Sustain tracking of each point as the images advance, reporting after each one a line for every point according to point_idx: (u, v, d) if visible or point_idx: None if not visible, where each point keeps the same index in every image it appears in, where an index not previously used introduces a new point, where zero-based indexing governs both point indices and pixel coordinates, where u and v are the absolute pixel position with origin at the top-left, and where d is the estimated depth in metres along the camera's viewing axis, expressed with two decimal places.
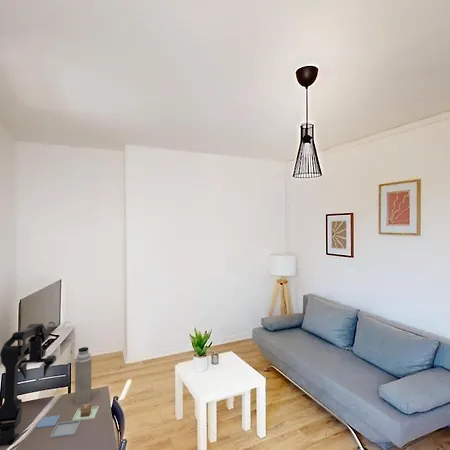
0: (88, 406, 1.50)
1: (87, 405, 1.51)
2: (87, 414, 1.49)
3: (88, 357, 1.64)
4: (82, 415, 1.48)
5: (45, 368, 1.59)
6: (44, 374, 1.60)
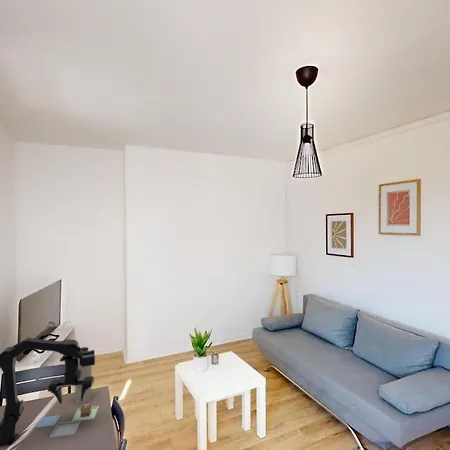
0: (88, 406, 1.50)
1: (87, 405, 1.51)
2: (87, 414, 1.49)
3: None
4: (82, 415, 1.48)
5: (83, 392, 1.41)
6: (81, 398, 1.41)
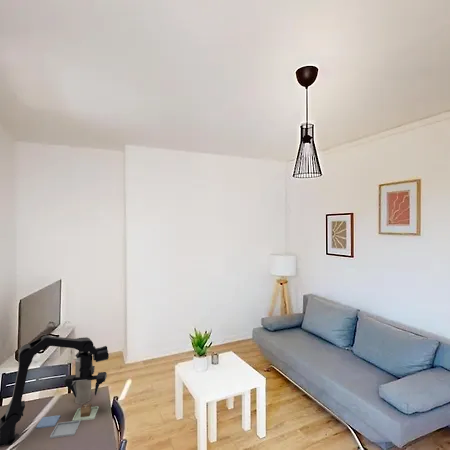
0: (88, 406, 1.50)
1: (87, 405, 1.51)
2: (87, 414, 1.49)
3: None
4: (82, 415, 1.48)
5: (97, 386, 1.50)
6: (95, 392, 1.51)
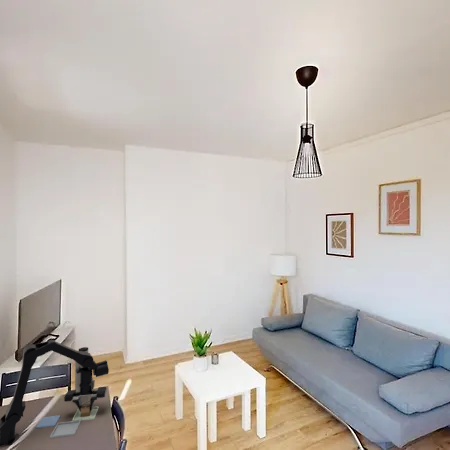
0: (88, 406, 1.50)
1: (87, 405, 1.51)
2: (87, 414, 1.49)
3: None
4: (82, 415, 1.48)
5: (91, 402, 1.49)
6: (90, 408, 1.50)
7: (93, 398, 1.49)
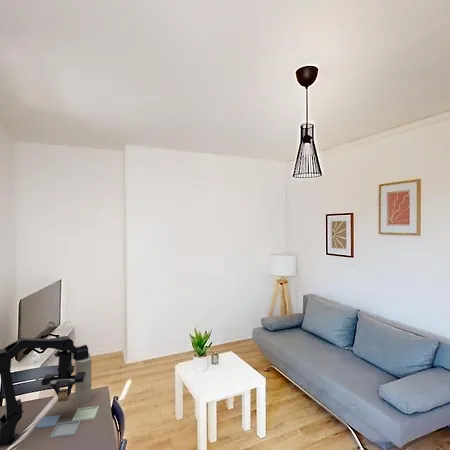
0: (66, 391, 1.47)
1: (65, 390, 1.48)
2: (65, 399, 1.45)
3: (88, 357, 1.64)
4: (59, 400, 1.45)
5: (69, 387, 1.46)
6: (68, 393, 1.46)
7: (71, 383, 1.46)
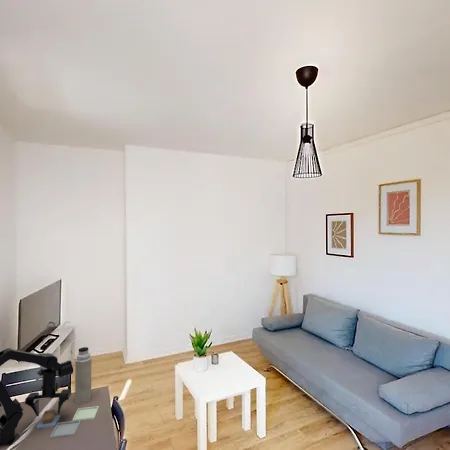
0: (51, 412, 1.44)
1: (50, 411, 1.45)
2: (49, 421, 1.43)
3: (88, 357, 1.64)
4: (44, 422, 1.42)
5: (60, 404, 1.43)
6: (58, 411, 1.44)
7: None
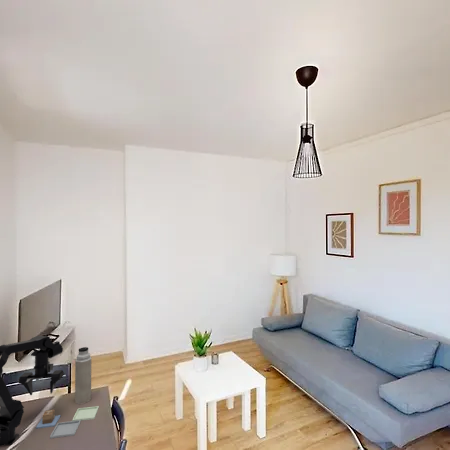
0: (51, 412, 1.44)
1: (50, 411, 1.45)
2: (49, 421, 1.43)
3: (88, 357, 1.64)
4: (44, 422, 1.42)
5: (51, 384, 1.47)
6: (51, 391, 1.48)
7: None
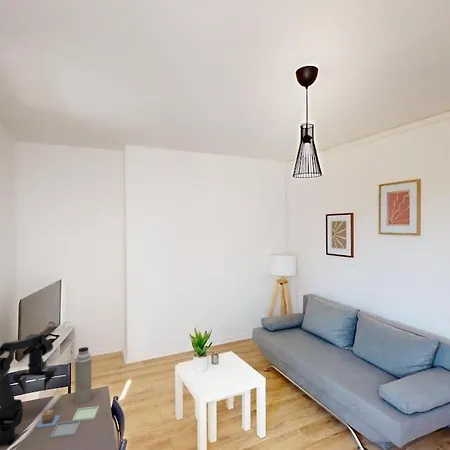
0: (51, 412, 1.44)
1: (50, 411, 1.45)
2: (49, 421, 1.43)
3: (88, 357, 1.64)
4: (44, 422, 1.42)
5: (46, 381, 1.50)
6: (45, 388, 1.51)
7: None
